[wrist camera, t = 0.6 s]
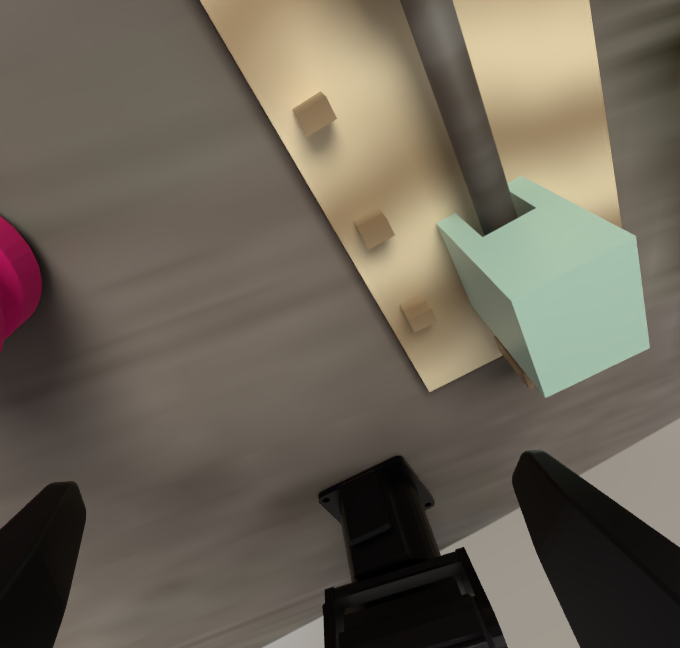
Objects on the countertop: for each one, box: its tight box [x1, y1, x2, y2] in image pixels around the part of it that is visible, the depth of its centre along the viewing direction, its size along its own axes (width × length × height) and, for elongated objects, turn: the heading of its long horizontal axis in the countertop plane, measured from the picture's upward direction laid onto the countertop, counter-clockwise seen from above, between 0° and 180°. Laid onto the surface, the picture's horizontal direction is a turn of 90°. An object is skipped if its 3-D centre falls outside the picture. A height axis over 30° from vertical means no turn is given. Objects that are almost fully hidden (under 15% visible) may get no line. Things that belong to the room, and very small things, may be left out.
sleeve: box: [437, 176, 650, 398], centre depth 18 cm, size 5×4×7 cm
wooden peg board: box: [200, 0, 622, 392], centre depth 17 cm, size 22×12×5 cm, turn 28°
